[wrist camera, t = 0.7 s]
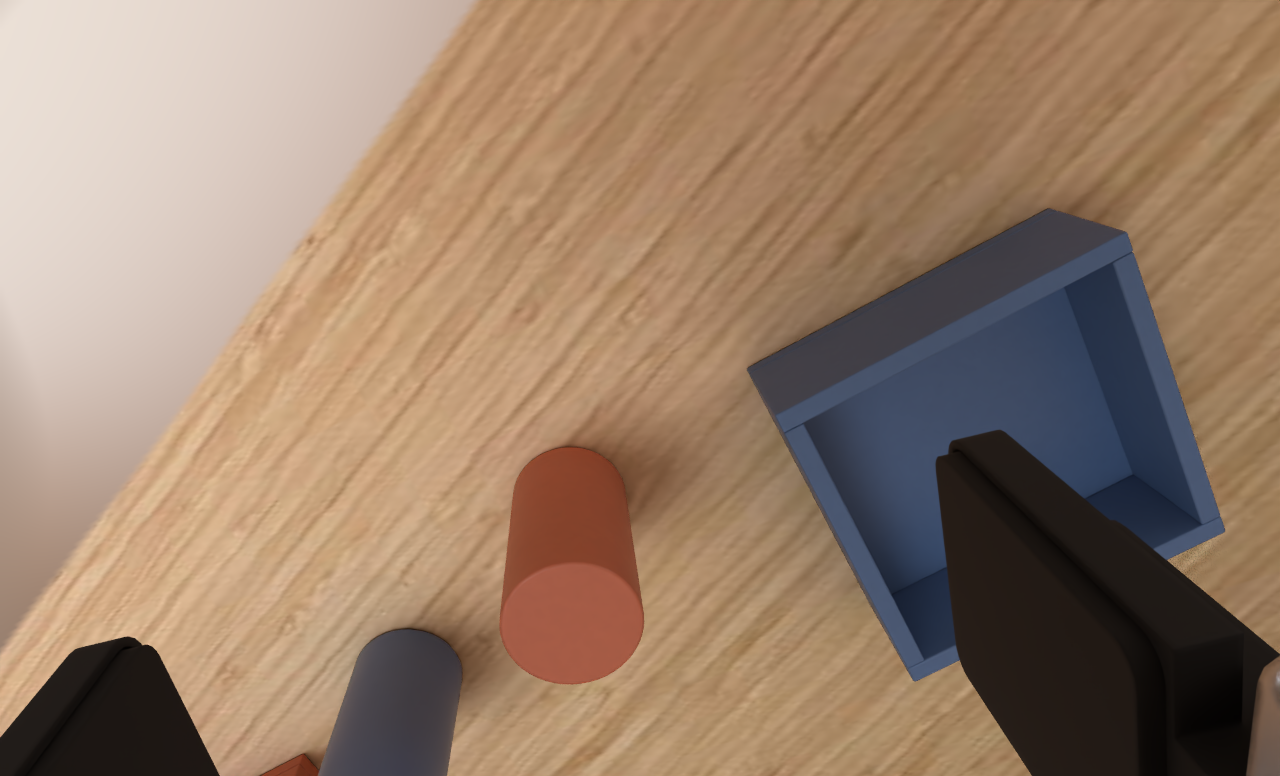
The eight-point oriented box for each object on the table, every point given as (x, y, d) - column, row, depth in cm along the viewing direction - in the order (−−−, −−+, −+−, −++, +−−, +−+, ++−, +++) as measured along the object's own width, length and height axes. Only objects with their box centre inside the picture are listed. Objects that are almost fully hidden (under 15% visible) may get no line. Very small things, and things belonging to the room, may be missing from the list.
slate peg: (333, 658, 30) (270, 824, 24) (425, 610, 30) (387, 765, 23) (394, 731, 32) (350, 908, 25) (482, 686, 31) (462, 854, 25)
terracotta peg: (492, 479, 29) (471, 605, 22) (591, 426, 28) (600, 538, 22) (549, 564, 30) (545, 707, 23) (645, 514, 29) (669, 646, 23)
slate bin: (745, 367, 28) (774, 416, 24) (1049, 207, 27) (1127, 231, 23) (872, 608, 31) (914, 683, 28) (1144, 473, 30) (1226, 532, 27)
